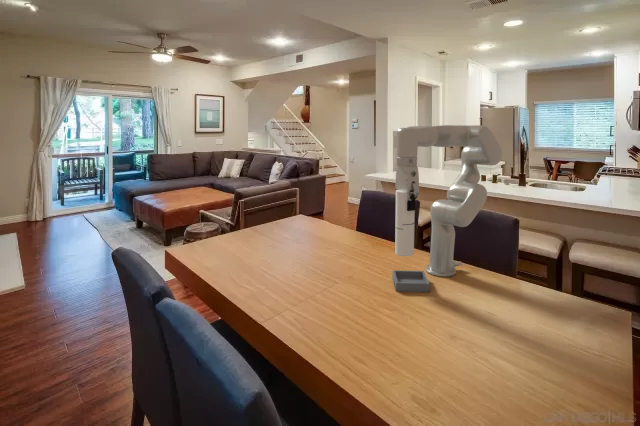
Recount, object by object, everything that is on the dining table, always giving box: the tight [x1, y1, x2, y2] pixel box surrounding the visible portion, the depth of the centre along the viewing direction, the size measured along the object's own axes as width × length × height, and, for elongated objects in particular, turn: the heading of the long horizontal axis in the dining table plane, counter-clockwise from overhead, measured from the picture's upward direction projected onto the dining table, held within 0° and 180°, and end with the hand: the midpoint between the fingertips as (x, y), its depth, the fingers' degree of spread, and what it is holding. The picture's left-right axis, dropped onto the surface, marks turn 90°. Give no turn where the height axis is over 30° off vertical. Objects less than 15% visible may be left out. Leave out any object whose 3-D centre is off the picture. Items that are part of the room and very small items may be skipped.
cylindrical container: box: [394, 189, 416, 257], centre depth 139 cm, size 7×7×25 cm
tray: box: [392, 269, 431, 293], centre depth 144 cm, size 13×13×4 cm
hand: (405, 208), depth 138 cm, fingers closed on cylindrical container, 7 cm apart
